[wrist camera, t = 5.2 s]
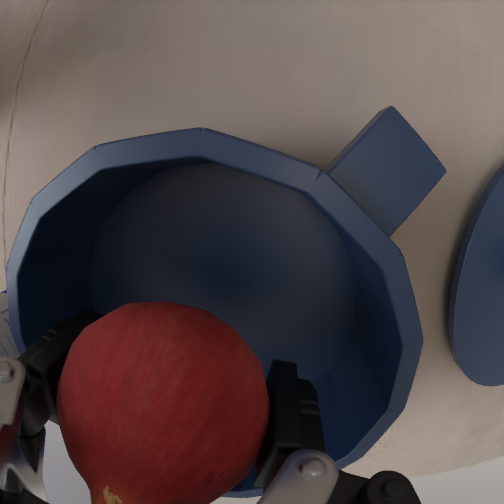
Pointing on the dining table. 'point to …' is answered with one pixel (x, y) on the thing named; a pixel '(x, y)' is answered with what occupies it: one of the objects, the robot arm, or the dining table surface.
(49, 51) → the dining table surface
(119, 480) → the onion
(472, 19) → the dining table surface
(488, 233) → the pot lid
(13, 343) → the beverage can
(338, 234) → the pot
